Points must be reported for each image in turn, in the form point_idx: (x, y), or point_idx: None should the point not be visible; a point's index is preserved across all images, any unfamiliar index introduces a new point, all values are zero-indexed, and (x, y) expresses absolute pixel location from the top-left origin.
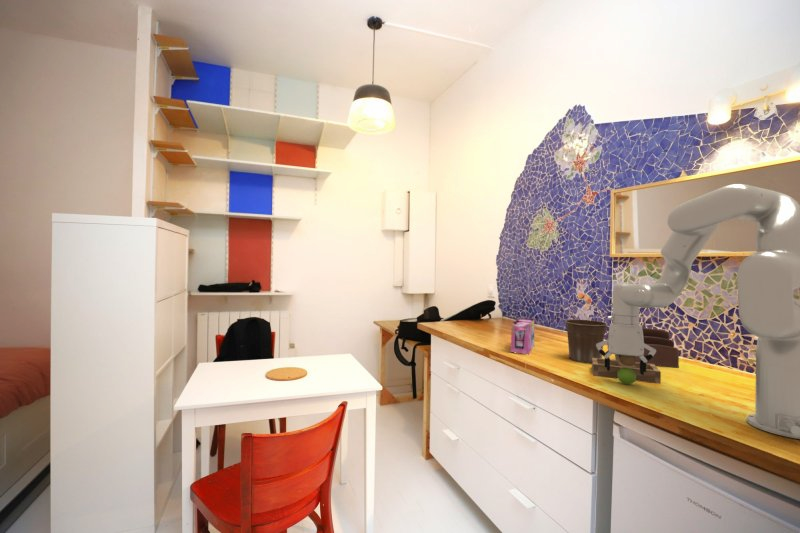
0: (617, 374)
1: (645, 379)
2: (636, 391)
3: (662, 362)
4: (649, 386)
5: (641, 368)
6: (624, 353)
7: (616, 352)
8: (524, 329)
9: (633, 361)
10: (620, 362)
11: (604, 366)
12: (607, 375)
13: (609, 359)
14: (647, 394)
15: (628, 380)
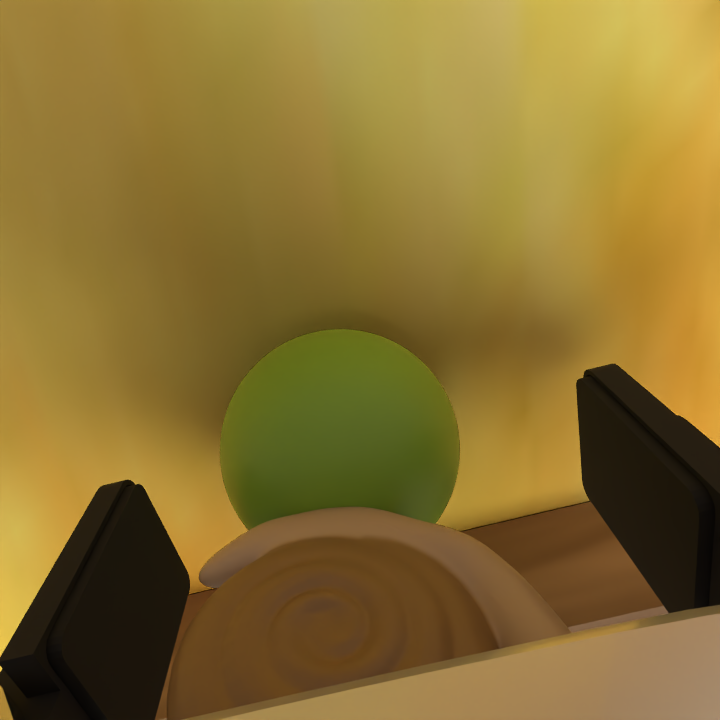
0: (451, 406)
1: (193, 614)
2: (170, 122)
3: None
4: (123, 468)
5: (100, 550)
6: (420, 718)
7: (718, 664)
8: None
9: (209, 629)
10: (460, 570)
11: (623, 601)
12: (541, 528)
13: (705, 504)
14: (16, 64)
15: (299, 337)
